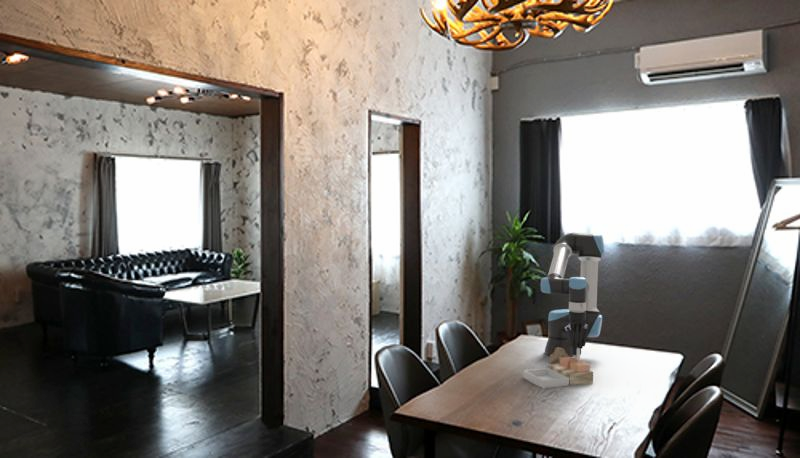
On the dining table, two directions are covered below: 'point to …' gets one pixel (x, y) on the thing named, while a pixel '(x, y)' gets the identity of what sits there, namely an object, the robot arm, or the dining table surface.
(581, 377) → the board
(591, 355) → the dining table surface
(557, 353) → the rock
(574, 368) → the tile
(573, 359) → the tile
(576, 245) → the robot arm
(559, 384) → the box
